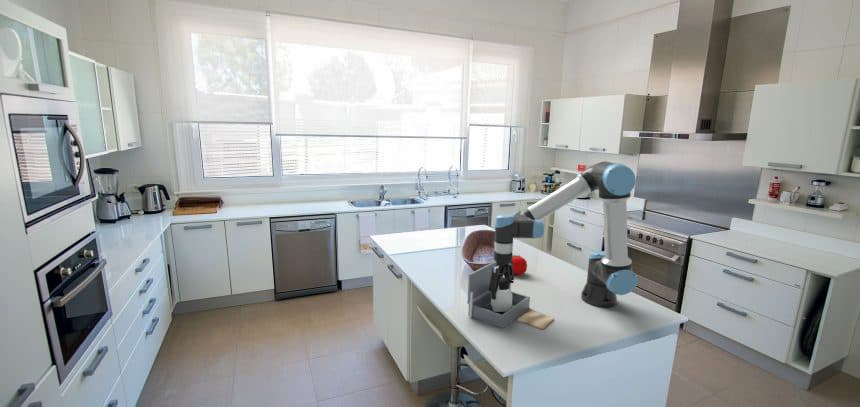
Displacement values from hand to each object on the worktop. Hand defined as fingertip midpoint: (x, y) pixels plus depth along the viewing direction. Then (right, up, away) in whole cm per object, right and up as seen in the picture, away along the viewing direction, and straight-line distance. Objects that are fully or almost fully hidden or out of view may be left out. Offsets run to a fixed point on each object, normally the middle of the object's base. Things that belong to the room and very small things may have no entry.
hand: (500, 301), depth 166 cm
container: (0, -3, +1) cm, 3 cm away
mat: (+13, -6, -6) cm, 16 cm away
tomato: (+16, +4, +46) cm, 49 cm away
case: (0, -5, +1) cm, 5 cm away
